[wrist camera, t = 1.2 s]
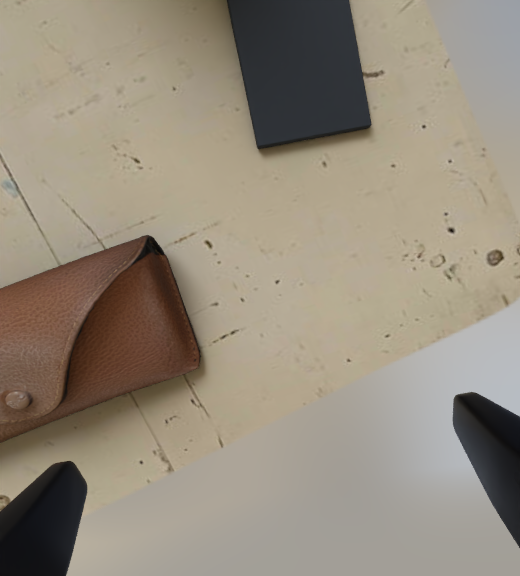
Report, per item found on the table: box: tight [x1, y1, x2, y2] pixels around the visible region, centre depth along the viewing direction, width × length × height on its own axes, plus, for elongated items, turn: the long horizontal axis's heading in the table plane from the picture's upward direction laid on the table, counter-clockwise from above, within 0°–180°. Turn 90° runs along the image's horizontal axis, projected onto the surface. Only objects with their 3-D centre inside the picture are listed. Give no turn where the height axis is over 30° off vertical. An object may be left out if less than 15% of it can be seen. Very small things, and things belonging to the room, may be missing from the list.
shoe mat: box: [227, 0, 371, 149], centre depth 20 cm, size 10×7×1 cm
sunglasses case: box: [0, 235, 201, 443], centre depth 19 cm, size 18×7×7 cm
